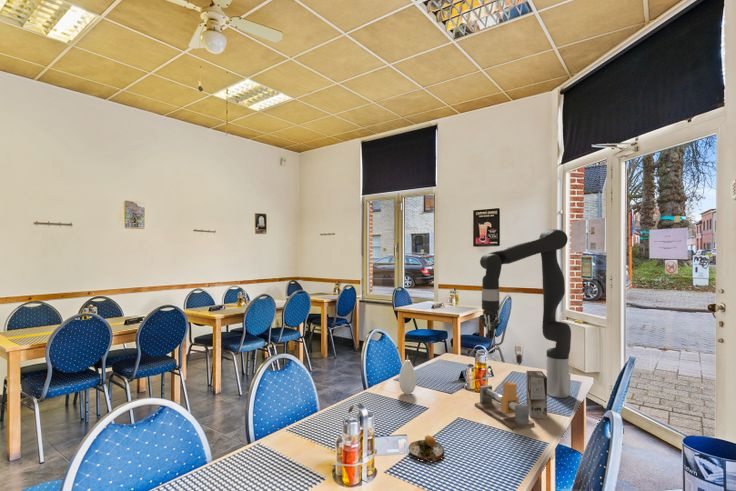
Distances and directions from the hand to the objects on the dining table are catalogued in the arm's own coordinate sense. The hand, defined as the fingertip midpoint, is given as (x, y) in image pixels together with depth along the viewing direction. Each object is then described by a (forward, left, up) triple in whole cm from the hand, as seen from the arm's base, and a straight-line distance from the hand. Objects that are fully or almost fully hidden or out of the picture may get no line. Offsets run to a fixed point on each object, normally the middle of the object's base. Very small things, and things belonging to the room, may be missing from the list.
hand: (490, 338), depth 181 cm
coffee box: (-8, +19, -27) cm, 34 cm away
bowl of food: (+49, +32, -28) cm, 65 cm away
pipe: (+6, +16, -27) cm, 32 cm away
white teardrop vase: (+32, -18, -27) cm, 46 cm away
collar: (+6, +20, -24) cm, 32 cm away
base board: (+6, +16, -27) cm, 32 cm away
